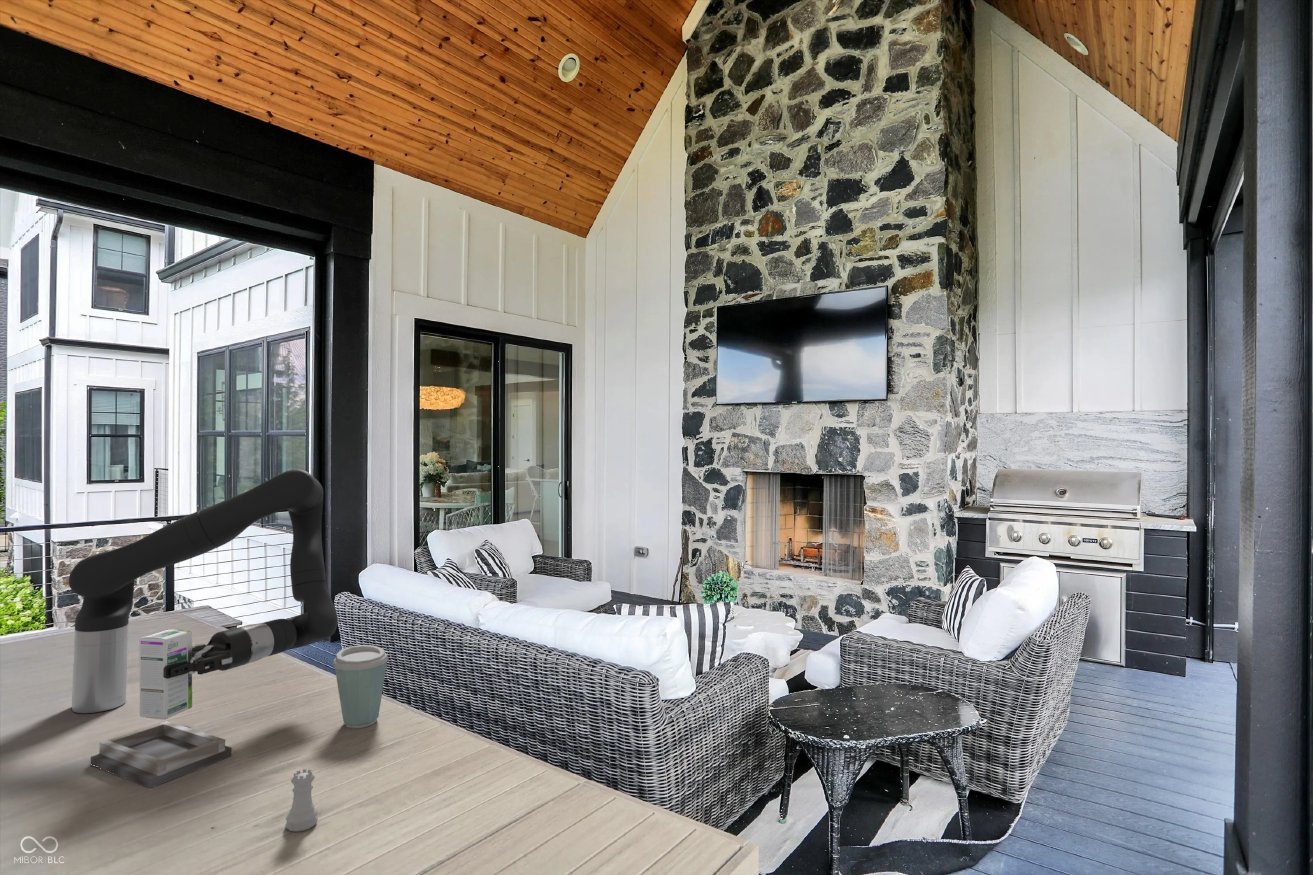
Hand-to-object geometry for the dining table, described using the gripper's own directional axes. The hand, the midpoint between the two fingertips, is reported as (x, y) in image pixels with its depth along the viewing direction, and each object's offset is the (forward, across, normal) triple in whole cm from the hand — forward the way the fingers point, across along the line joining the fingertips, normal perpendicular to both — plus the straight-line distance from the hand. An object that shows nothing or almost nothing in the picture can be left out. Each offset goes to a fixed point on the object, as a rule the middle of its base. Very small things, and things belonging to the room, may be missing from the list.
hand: (153, 669), depth 126 cm
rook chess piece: (+1, +41, +18) cm, 44 cm away
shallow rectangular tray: (-2, 0, +17) cm, 17 cm away
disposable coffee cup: (-31, +17, +18) cm, 39 cm away
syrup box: (-2, 0, +9) cm, 9 cm away
